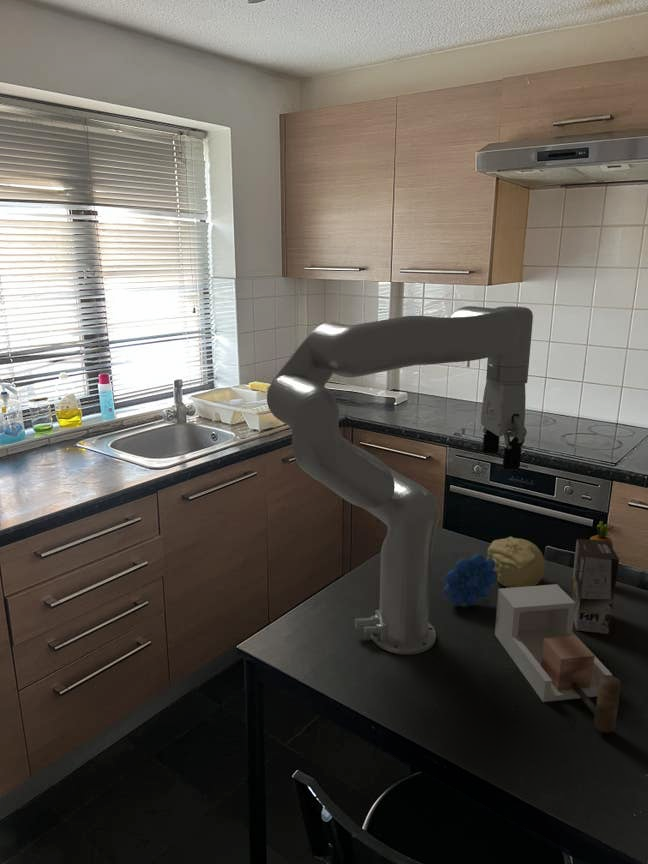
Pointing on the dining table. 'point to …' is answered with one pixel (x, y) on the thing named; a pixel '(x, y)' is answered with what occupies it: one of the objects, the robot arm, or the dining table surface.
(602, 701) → the wooden mallet
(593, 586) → the coffee box
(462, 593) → the grapes
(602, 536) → the carrot
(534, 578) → the sculpture
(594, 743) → the dining table surface
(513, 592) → the shelf lane
